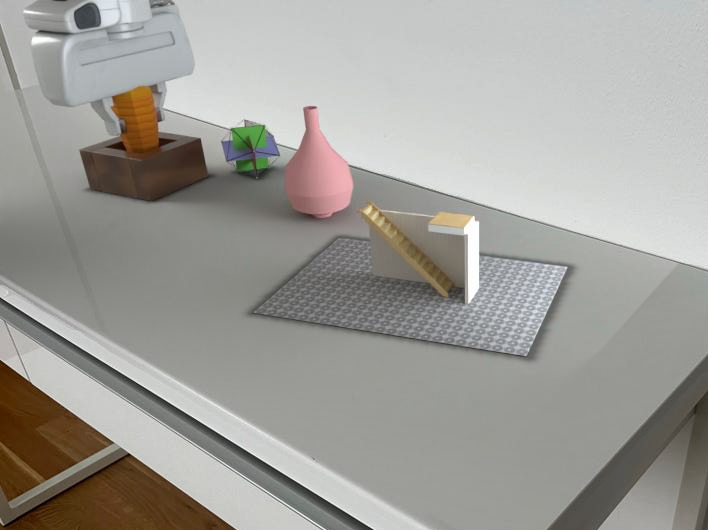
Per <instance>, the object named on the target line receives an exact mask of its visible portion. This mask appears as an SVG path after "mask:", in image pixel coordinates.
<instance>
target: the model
mask: <svg viewBox="0 0 708 530" xmlns="http://www.w3.org/2000/svg"><path fill="white" fill-rule="evenodd" d="M366 204H367V206H366V207H364V208H363V209H362V208H360V207H356V212H357V213H360V216H361V219H362V220H363V221H364V222H365V223H367V225H368V233H369V240H368V241H369V246H370V258H371V270H372V275H373V276H379V277H387V278H392V279H400V280H408V281H416V282H421V283H428V284H430V285H431V286H432V287H433V288H434V289H435V290H436V291H437V292H438V293H439V294H440V295H441V296H444V297H448V296H449V293H448V292H449V291H450V290H451V288H452V287H457V288H464V303H465V304H469V303H470V301H471V300H472V298H473V297H474V295H475V294H476V293H477V291H478V290H479V288H480V256H481V255H480V220H475V215H471V214H470V215H469V214H459V213H453V212H445V211H438V212H437V213H436V214H435V215H430V214H422V213H414V212H404V211H395V210H388V209H379V207H377V206H376V205H375V204H374V203H373V202H372V201H371V200H370V199H366Z"/></svg>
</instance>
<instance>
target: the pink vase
mask: <svg viewBox="0 0 708 530" xmlns="http://www.w3.org/2000/svg"><path fill="white" fill-rule="evenodd" d="M302 111H303V118H304V126H305V130H304V134H303V136H302V139H301V141H300V144H299V147H298V148H297V150H296V152H295V153H294V154H293V155H292V157H291V158H290V160H289V161H288V162H287V164H286V165H285V171H284V191H285V193H286V196H287V198H288V200H289V202H290V205H291V206H292V208H293V209H294V210H295V211H296V212H300V213H303V214H309V215H312V217H314V218H318V219H324V218H325V219H326V218H329V217H331V216H333V213H336V212H339V211H342V210H344V209H346V208H347V207H348V206H349V205H350V204H351V199H352V196H353V190H354V184H355V183H354V180H353V177H352V173H351V169H350V166H349V162H348V161H347V160H346V159H344V157H343V156H341V155H340V154H339V153H338V152H337V151H336V150H335V149H334V148H333V147H332V146H331V144H330V143H329V141H328V140H327V138H326V136H325V135H324V133H323V132H322V130H321V128H320V127H321V126H320V119H319V117H320V116H319V109H318V106H316V105H315V106H314V105H306V106H303V107H302Z"/></svg>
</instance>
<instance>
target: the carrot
mask: <svg viewBox="0 0 708 530" xmlns="http://www.w3.org/2000/svg"><path fill="white" fill-rule="evenodd" d="M112 99H113V104H114V106H112V107H110V108H111V109H112V111H113V112H114V113H115V115H116V116H117V117H118V118H124V119H125V123H126V126H125V127H126V128H127V133H124V134H122V135H119V136H120V137H121V139H122V141H123V143H124V146H125V148H126V150H127V151H129V152H135V153H141V154H142V153H145V152H147V151H150V150H153V149H156V148H158V147H159V132H160V131H159V122H157V116H156V110H155V105H154V99H153V94H152V91H151V89H150V87H146V86H139V87H136V88H134V89H132V90H130V91H129V92H126V93H123V94H119V95H115V96H112Z"/></svg>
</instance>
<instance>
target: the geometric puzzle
mask: <svg viewBox="0 0 708 530" xmlns="http://www.w3.org/2000/svg"><path fill="white" fill-rule="evenodd" d="M241 122H244V126H239V127H238V126H236V127H230V129H229V130H228V133H226V134H225V136H226V137H228V136H229V137H231V138H232V139H231V138H229V140H225V137H223V138H222V140H220V143H221V146H222V150H223V154H224V157H225V162H226V163H227V164H229V165H231V166H233V168H234V170H235V172H237V173H241V174H244V175H246V176H250V177H253V178H256V179H258V178H259V177H260V176H261V175H262V174H264V172H266V171H267V170H268V169H270V167H271V166H272V165H273V163H275V162H276V161H277V160H278V158H275V160H273V161H272V162H271V160H269V158H273V157H281V156H282V155H281V154H280V151H279V149H278V145H277V142H276V139H275V135H273V133H272V132H271V131H269V128H268V127H267V126H266V124H262V123H259V122H256V121H251V120H248V119H245V118H243V120H241V121H240V122H238V124H241ZM234 162H235V164H234ZM259 169H260V170H262V169H264V170H263V171H262V172H260V174H259V175H258V170H259ZM252 170H254V173H255V175H253V174H249V172H248V171H252ZM244 172H246V173H244Z"/></svg>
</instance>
